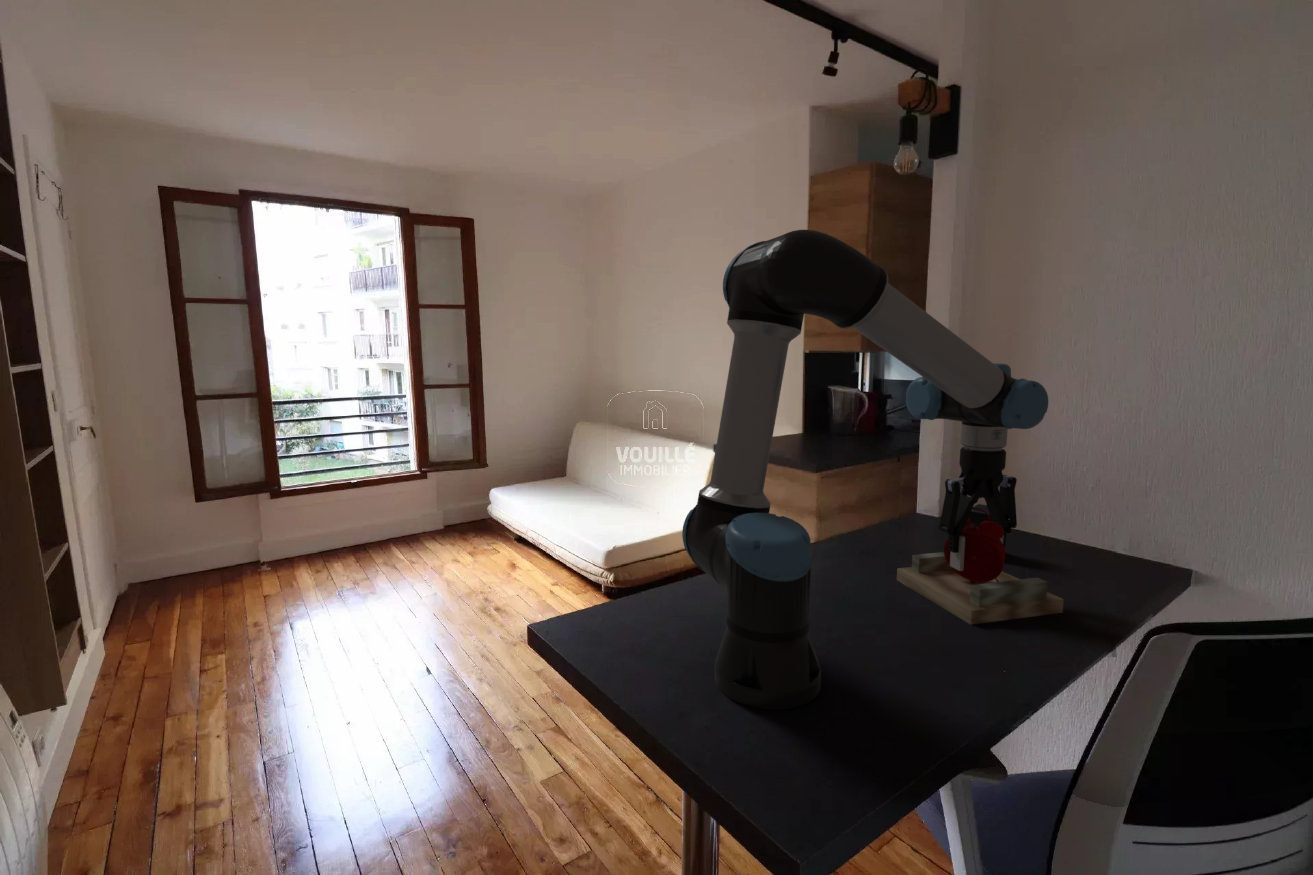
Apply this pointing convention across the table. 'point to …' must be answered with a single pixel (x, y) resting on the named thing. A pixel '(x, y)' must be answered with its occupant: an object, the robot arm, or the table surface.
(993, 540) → the alarm clock
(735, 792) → the table surface
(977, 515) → the box
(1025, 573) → the table surface
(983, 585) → the display stand
